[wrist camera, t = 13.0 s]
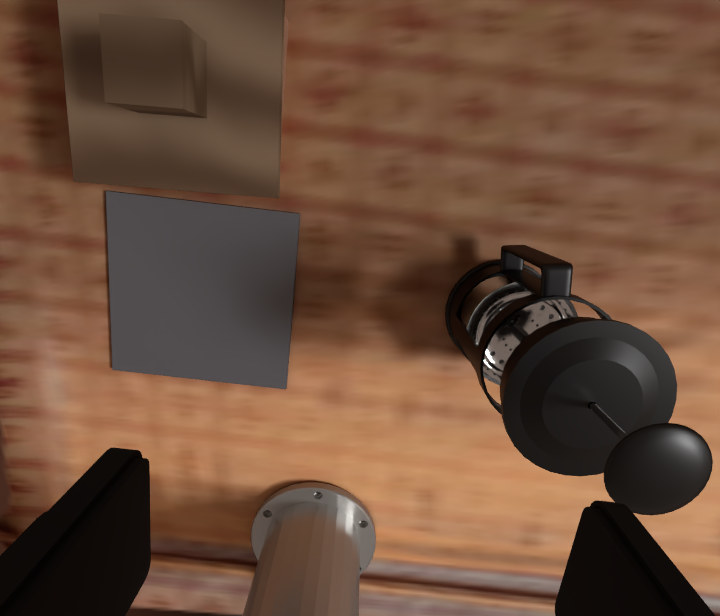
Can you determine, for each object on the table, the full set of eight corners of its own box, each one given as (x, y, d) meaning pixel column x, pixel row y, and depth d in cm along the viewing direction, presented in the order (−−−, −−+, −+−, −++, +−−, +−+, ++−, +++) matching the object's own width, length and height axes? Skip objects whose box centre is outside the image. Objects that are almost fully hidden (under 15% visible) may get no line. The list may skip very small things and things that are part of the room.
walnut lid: (279, 197, 32) (264, 200, 27) (80, 181, 32) (31, 181, 27) (286, -34, 28) (269, -77, 23) (60, -53, 28) (-1, -100, 23)
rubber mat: (286, 387, 42) (285, 389, 42) (114, 368, 42) (112, 369, 41) (300, 213, 38) (299, 213, 37) (108, 191, 37) (105, 191, 37)
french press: (547, 367, 41) (759, 584, 19) (444, 370, 41) (533, 588, 19) (557, 237, 38) (827, 316, 16) (445, 241, 38) (555, 324, 16)
